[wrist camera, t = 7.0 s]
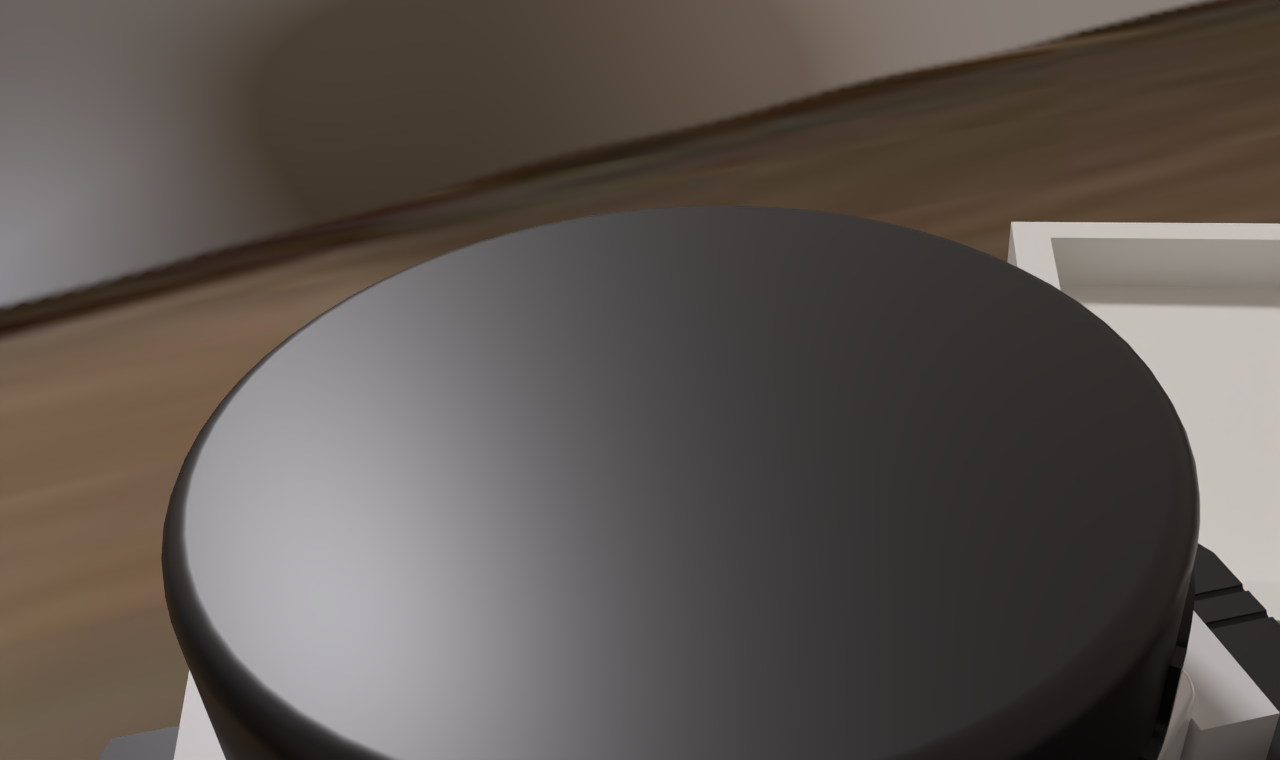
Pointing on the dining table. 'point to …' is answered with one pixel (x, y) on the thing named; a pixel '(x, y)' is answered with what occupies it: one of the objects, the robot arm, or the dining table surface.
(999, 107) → the dining table surface
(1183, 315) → the tray
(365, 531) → the jar
